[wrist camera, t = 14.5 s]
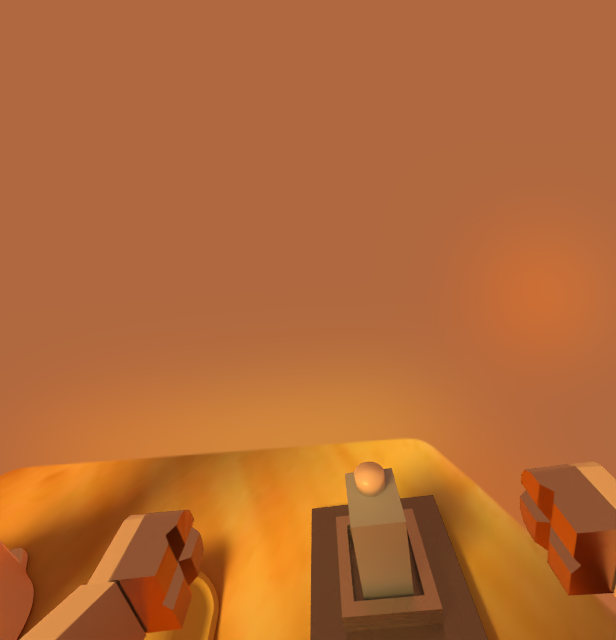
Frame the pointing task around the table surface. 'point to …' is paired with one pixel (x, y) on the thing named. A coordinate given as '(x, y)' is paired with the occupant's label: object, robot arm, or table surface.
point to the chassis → (393, 613)
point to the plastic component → (196, 614)
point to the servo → (379, 532)
